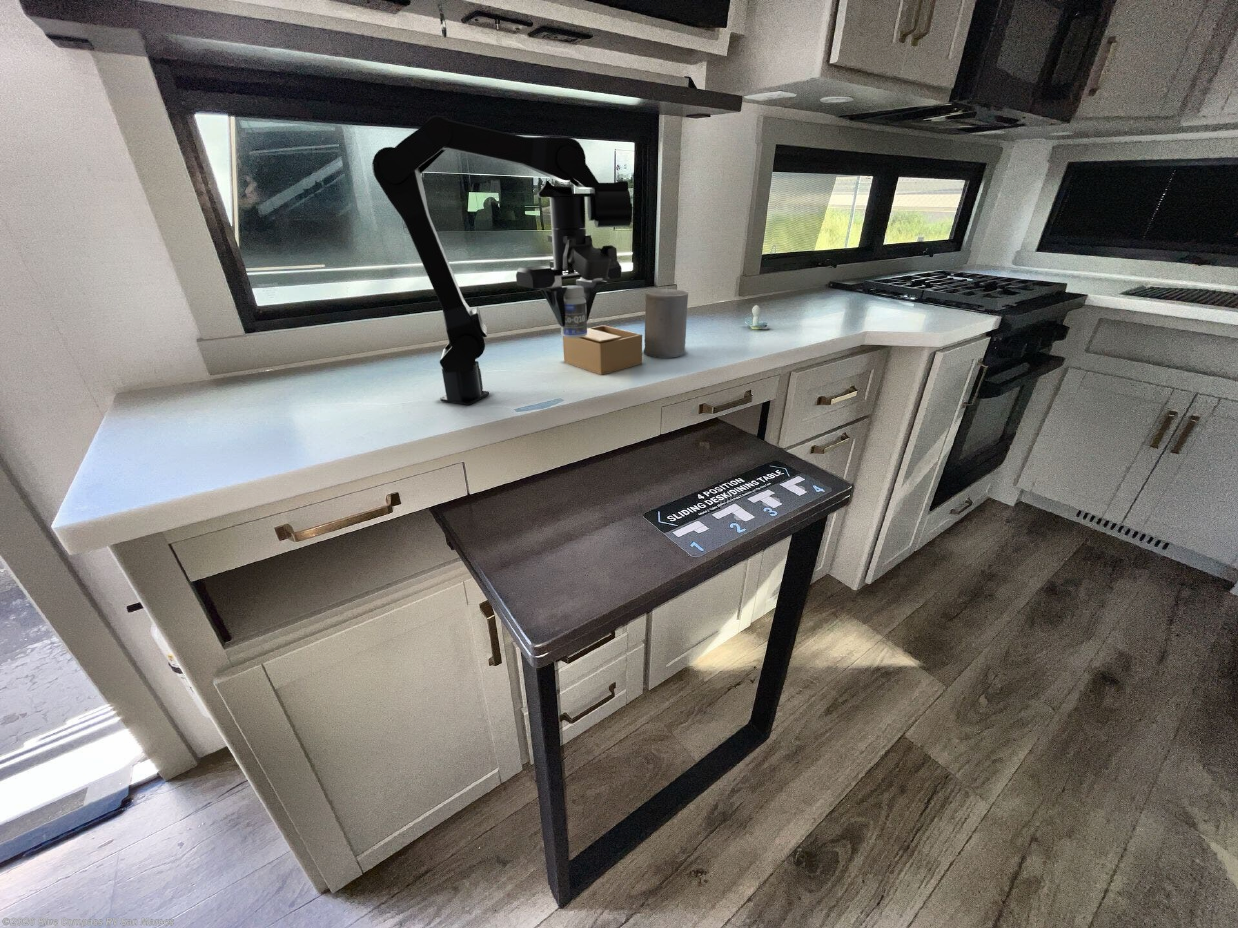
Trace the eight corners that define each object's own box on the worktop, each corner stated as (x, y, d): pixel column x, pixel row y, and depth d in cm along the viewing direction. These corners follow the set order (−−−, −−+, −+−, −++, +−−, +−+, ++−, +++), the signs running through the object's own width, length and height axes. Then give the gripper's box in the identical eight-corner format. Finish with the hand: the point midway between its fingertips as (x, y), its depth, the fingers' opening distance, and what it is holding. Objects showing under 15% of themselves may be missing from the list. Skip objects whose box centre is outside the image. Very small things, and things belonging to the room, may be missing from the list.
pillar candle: (635, 352, 119) (636, 286, 113) (663, 345, 125) (665, 281, 118) (666, 361, 113) (668, 291, 106) (694, 352, 119) (698, 286, 112)
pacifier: (759, 325, 145) (741, 326, 143) (762, 302, 142) (744, 303, 140) (774, 330, 139) (756, 331, 137) (778, 307, 136) (760, 308, 134)
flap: (600, 342, 101) (600, 340, 101) (562, 331, 110) (562, 330, 110) (621, 338, 105) (621, 336, 105) (583, 328, 113) (583, 326, 113)
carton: (600, 375, 104) (600, 344, 101) (564, 362, 113) (562, 333, 110) (641, 363, 111) (642, 334, 108) (604, 352, 120) (603, 325, 117)
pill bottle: (563, 339, 89) (560, 289, 85) (559, 333, 93) (556, 285, 89) (589, 337, 90) (587, 288, 86) (584, 331, 94) (582, 284, 90)
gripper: (548, 233, 73) (556, 340, 80) (643, 227, 84) (642, 323, 91) (509, 230, 80) (519, 329, 88) (600, 225, 91) (603, 314, 98)
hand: (573, 324), depth 91 cm, fingers closed on pill bottle, 5 cm apart
